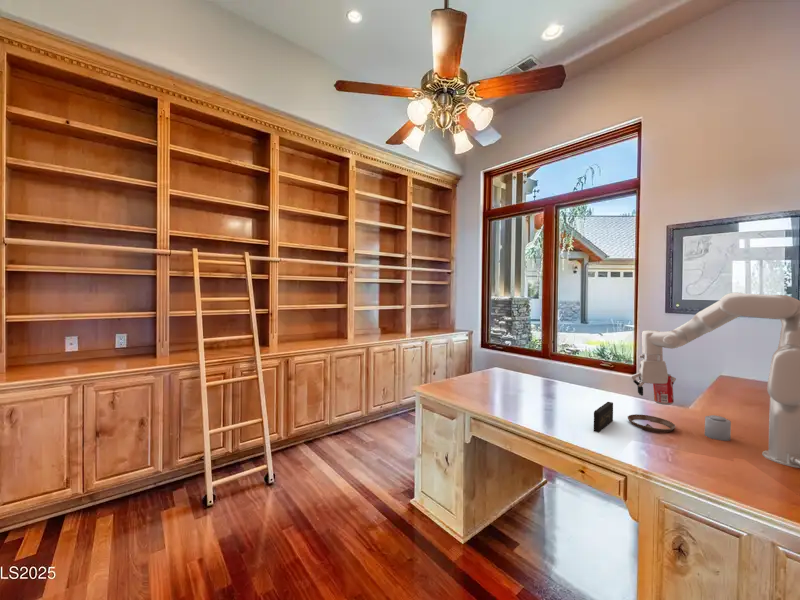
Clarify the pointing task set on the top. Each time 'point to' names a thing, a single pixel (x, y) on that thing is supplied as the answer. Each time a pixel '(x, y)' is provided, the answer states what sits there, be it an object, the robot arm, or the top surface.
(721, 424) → the grey ceramic cup
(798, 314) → the robot arm
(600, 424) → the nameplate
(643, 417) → the plant saucer
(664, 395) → the soda can
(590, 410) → the top surface
